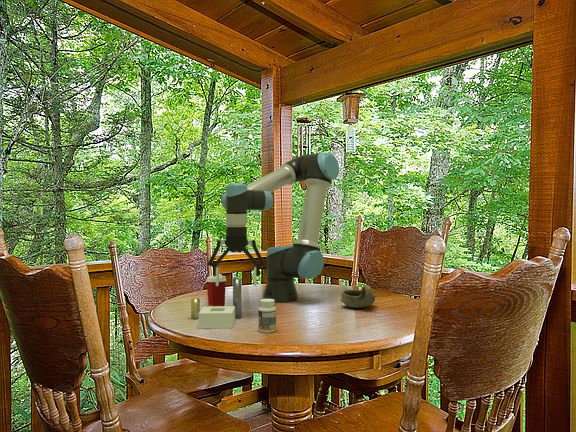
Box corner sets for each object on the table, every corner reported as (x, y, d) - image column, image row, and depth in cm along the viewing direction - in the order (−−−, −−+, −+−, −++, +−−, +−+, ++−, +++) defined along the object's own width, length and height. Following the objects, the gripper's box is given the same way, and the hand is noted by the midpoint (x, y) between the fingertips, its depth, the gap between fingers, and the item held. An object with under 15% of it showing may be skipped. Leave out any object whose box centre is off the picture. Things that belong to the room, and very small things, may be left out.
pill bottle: (258, 328, 149) (258, 298, 149) (275, 328, 150) (275, 298, 150) (258, 333, 144) (258, 301, 144) (276, 332, 144) (276, 301, 144)
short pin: (200, 317, 166) (200, 298, 166) (199, 319, 163) (198, 299, 163) (192, 317, 166) (191, 298, 166) (190, 319, 163) (190, 299, 163)
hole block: (235, 320, 161) (235, 306, 161) (232, 328, 150) (232, 312, 150) (203, 320, 161) (203, 306, 161) (198, 328, 150) (198, 313, 150)
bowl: (366, 303, 190) (366, 279, 190) (385, 312, 173) (385, 285, 173) (335, 305, 186) (335, 280, 186) (351, 314, 169) (351, 287, 169)
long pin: (241, 316, 166) (241, 278, 166) (241, 318, 163) (240, 279, 163) (233, 317, 166) (233, 278, 166) (232, 318, 163) (232, 279, 163)
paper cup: (230, 312, 173) (230, 275, 173) (221, 317, 166) (220, 278, 166) (212, 311, 176) (211, 275, 176) (202, 315, 169) (201, 277, 169)
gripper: (271, 226, 169) (271, 283, 169) (203, 226, 168) (203, 283, 168) (271, 226, 161) (270, 286, 161) (199, 226, 160) (199, 287, 160)
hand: (236, 285), depth 164 cm, fingers open, 13 cm apart
